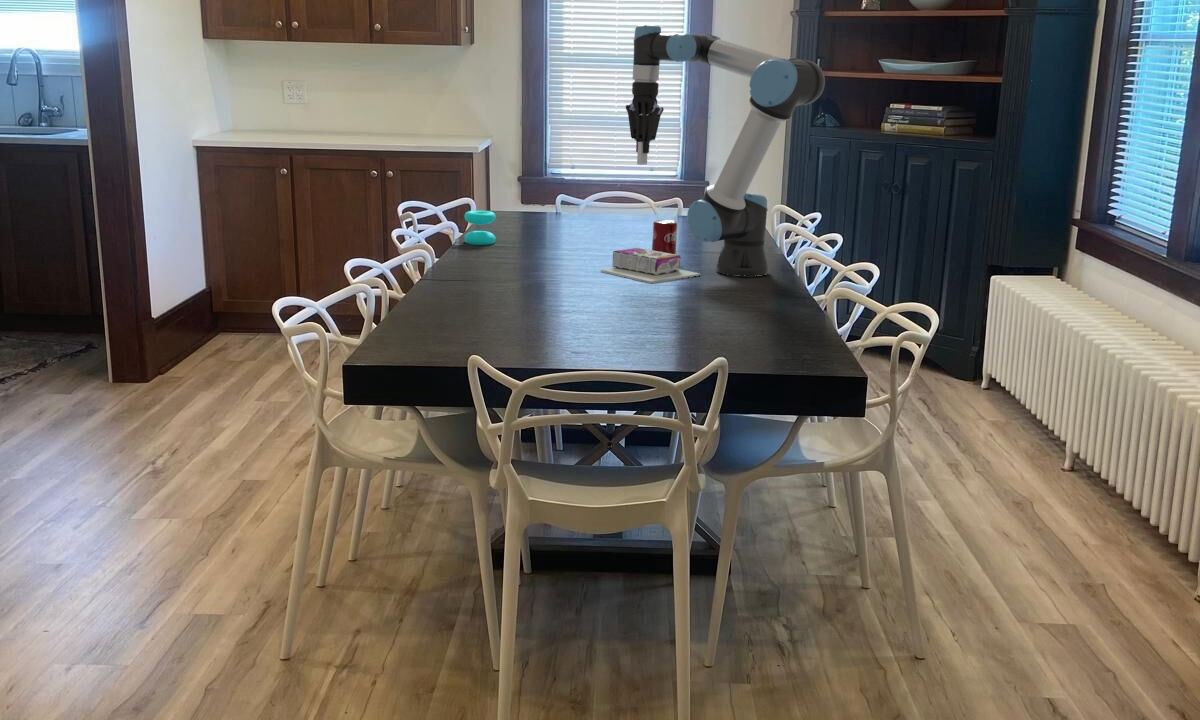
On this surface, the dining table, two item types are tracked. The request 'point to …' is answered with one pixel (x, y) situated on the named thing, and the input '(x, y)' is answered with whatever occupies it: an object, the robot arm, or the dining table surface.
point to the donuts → (479, 236)
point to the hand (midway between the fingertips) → (641, 164)
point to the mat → (650, 275)
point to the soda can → (664, 236)
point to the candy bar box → (646, 261)
